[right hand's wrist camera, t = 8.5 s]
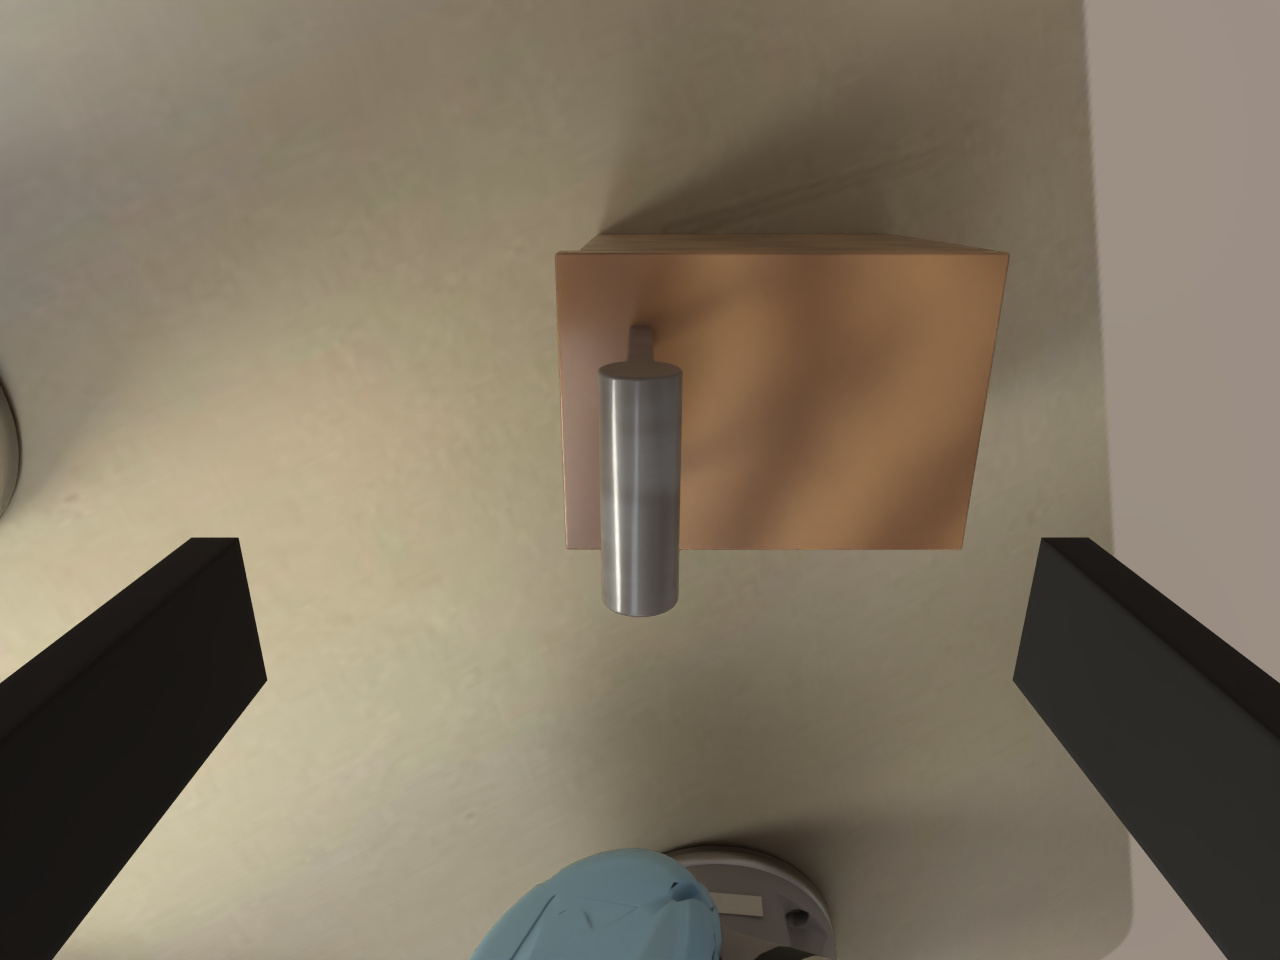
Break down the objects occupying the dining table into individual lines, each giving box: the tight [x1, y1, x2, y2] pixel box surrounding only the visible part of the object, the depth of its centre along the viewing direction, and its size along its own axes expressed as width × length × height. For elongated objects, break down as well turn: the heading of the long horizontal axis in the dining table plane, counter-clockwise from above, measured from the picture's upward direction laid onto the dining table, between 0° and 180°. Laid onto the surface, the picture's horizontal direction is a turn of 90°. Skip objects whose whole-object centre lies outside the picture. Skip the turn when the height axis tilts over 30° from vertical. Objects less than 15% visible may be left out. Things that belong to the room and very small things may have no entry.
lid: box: [555, 251, 1010, 617], centre depth 21 cm, size 14×10×9 cm
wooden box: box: [579, 234, 993, 251], centre depth 31 cm, size 13×10×11 cm
